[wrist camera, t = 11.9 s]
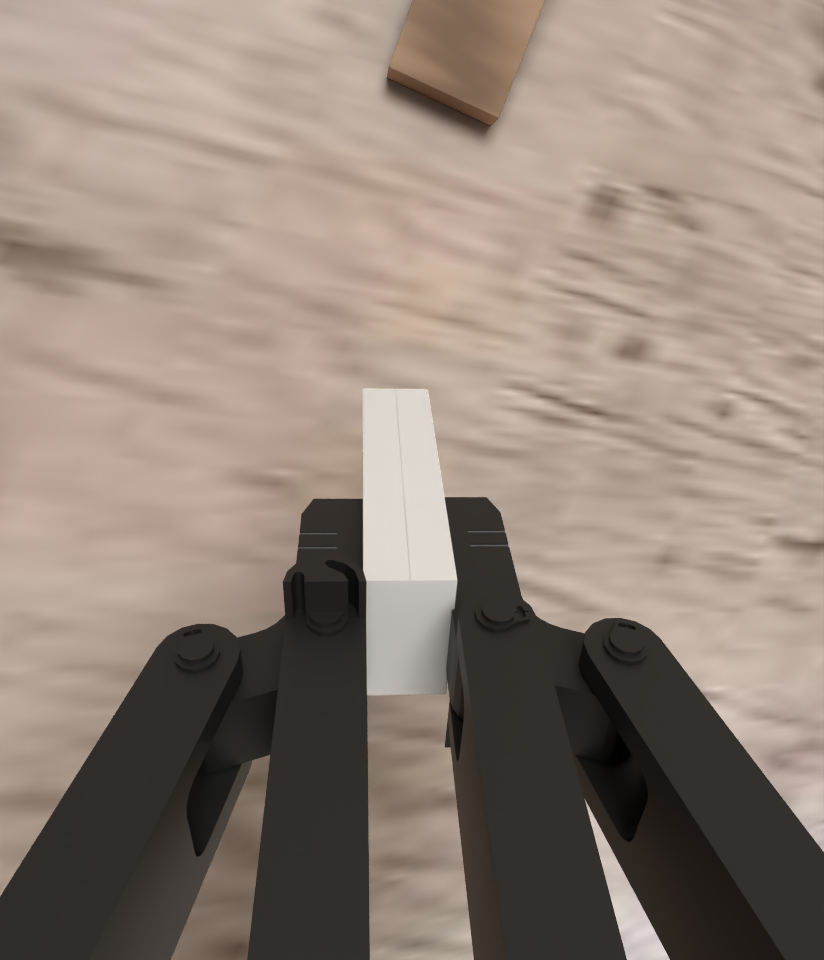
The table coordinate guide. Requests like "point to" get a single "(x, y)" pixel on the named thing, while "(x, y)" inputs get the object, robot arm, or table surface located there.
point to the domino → (464, 51)
